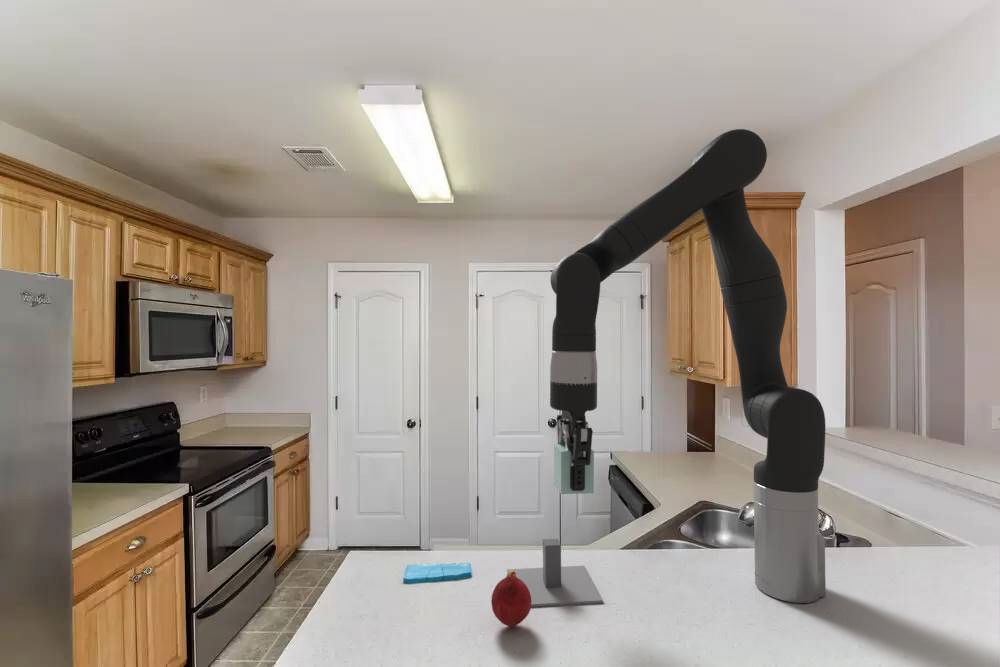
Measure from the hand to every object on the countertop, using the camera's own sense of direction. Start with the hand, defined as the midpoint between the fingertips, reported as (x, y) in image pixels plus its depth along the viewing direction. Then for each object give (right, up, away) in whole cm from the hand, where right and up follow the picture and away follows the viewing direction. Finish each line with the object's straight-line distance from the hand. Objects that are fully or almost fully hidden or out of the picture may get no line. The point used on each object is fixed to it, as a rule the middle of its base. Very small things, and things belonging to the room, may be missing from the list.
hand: (572, 484), depth 81 cm
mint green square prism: (0, -1, 0) cm, 1 cm away
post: (-3, -18, +3) cm, 19 cm away
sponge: (-23, -19, +8) cm, 31 cm away
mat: (-3, -18, +3) cm, 19 cm away
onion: (-10, -18, -8) cm, 23 cm away
